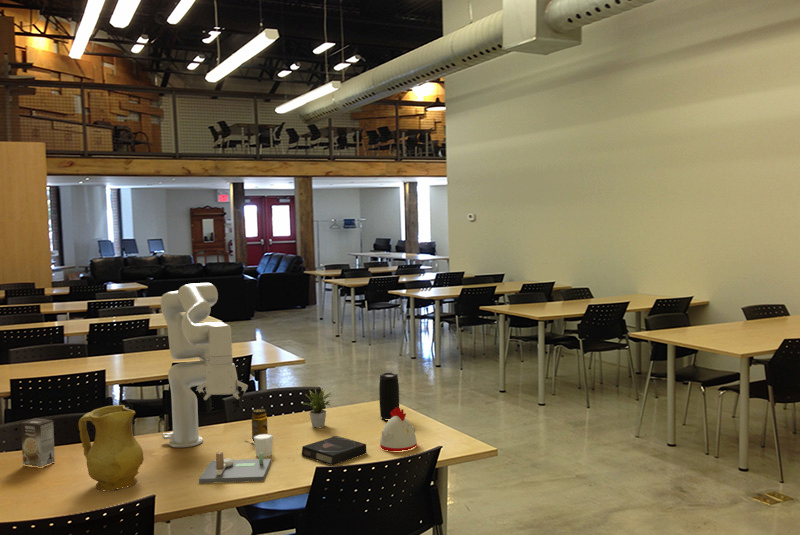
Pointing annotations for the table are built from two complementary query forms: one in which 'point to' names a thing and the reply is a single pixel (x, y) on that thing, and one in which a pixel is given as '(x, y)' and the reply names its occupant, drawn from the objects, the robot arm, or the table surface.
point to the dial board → (238, 471)
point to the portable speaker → (388, 394)
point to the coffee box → (38, 442)
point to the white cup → (263, 444)
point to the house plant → (318, 408)
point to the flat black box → (334, 450)
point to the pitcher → (111, 447)
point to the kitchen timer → (398, 433)
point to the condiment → (259, 422)
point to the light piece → (222, 463)
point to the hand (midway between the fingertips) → (223, 410)
